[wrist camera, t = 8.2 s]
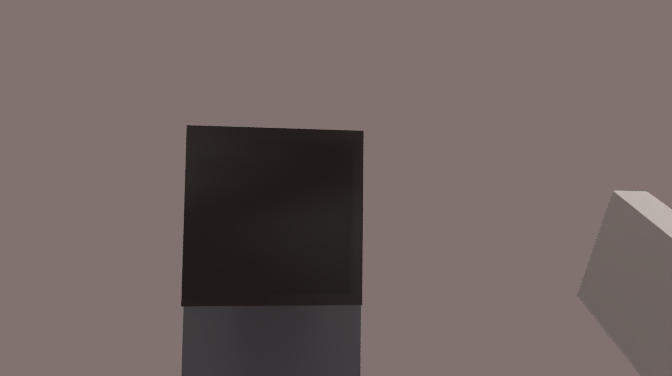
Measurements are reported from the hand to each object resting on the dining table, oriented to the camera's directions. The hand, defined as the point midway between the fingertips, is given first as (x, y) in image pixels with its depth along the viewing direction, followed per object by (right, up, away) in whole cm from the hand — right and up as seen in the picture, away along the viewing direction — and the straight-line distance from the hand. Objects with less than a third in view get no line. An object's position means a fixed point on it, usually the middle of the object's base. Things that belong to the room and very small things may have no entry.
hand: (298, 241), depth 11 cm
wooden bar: (-2, -2, +12) cm, 12 cm away
